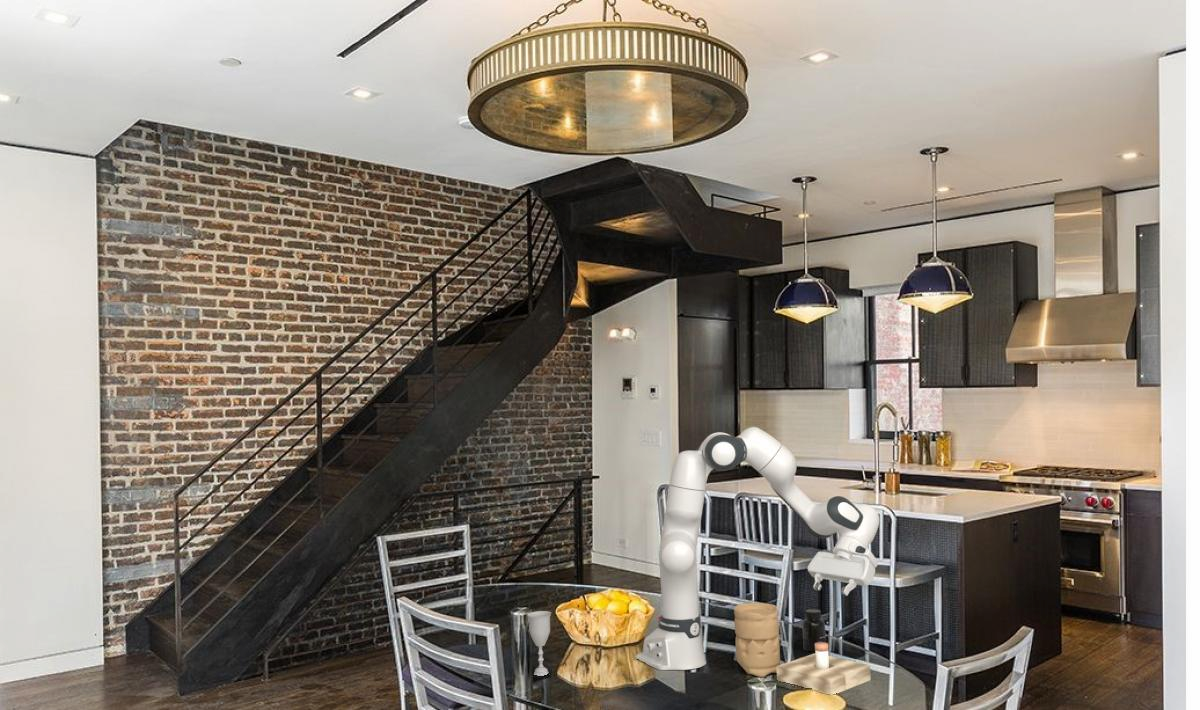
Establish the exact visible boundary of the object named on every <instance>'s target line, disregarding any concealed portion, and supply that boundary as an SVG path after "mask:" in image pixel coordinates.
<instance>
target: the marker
mask: <svg viewBox="0 0 1200 710" xmlns="http://www.w3.org/2000/svg"><path fill="white" fill-rule="evenodd" d="M815 654H816V668H820V669H824V670H826V669H828V668H829V656H830V655H829V643H828V642H826V643H825V642H817V643H815Z"/></svg>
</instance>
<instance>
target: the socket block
mask: <svg viewBox="0 0 1200 710" xmlns="http://www.w3.org/2000/svg"><path fill="white" fill-rule="evenodd" d="M776 668H777V674H776V681H777V680H778V681H777V682H779V681H781V682H780V683H782V682H786V683H790V684H795V685H798V686H802V687H804V688H803V689H805V688H812V689H816V690H820V691H823V692H826V693H829V694H835V695H837V694H839V693H842V692H844V691H847V690H850V689H851V688H855V687H856V686H859V685H862V684H864V683H868V682H871V677H872V676H871V665H870V664H866V663H861V662H857V661H852V660H847V659H843V658H839V657H836V656H835V657H834V656H832V655H829V668H828V669H826V670H824V669H820V668H816V654H815V653H814V652H813V653H812V654H809V655H806V656H802V657H799V658H797V659H795V660H791V661H788V662H786V663H782V664H780V665H779V666H776ZM786 683H785V684H786ZM790 684H789V685H790ZM836 693H837V694H836Z"/></svg>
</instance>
